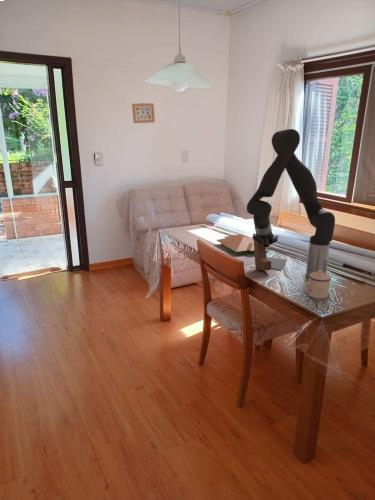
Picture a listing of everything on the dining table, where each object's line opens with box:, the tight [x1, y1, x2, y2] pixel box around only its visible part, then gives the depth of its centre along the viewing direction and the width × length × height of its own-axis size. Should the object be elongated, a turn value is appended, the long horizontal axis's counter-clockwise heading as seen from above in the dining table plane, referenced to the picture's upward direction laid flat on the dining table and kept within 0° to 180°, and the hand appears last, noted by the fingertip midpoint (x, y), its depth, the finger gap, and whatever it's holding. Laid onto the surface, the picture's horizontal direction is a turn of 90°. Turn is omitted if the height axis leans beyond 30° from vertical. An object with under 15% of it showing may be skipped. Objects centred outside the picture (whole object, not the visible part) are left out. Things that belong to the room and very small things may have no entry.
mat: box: [267, 256, 288, 271], centre depth 200 cm, size 13×18×1 cm
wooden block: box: [253, 239, 272, 272], centre depth 187 cm, size 9×4×18 cm, turn 19°
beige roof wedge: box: [216, 233, 270, 257], centre depth 226 cm, size 23×33×8 cm
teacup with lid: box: [304, 270, 332, 300], centre depth 159 cm, size 12×9×12 cm
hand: (266, 246), depth 187 cm, fingers closed
